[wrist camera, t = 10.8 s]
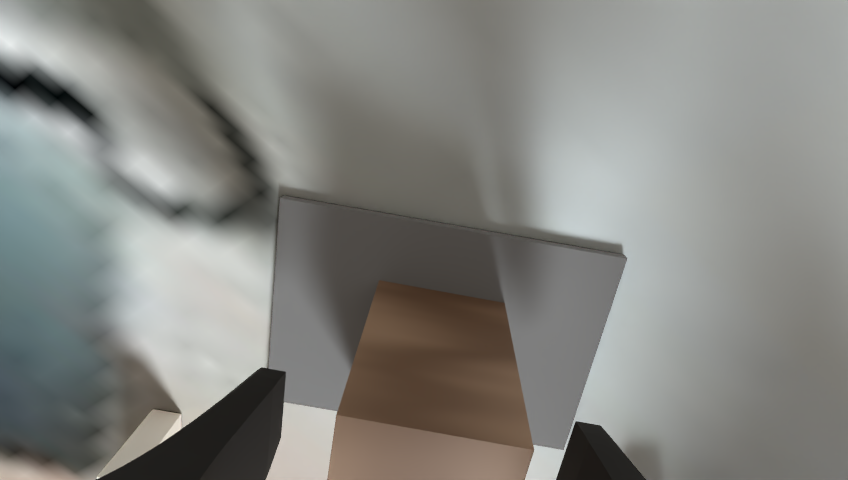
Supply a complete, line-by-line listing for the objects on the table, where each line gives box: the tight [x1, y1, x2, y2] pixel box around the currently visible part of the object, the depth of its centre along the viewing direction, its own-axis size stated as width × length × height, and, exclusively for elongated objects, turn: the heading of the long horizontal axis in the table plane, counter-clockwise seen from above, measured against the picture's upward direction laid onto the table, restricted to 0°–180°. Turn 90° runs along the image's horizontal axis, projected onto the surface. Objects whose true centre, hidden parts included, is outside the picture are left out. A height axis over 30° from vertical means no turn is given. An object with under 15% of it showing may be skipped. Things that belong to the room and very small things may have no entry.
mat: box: [268, 195, 627, 450], centre depth 16 cm, size 10×7×1 cm
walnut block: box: [327, 280, 534, 480], centre depth 13 cm, size 4×4×6 cm
